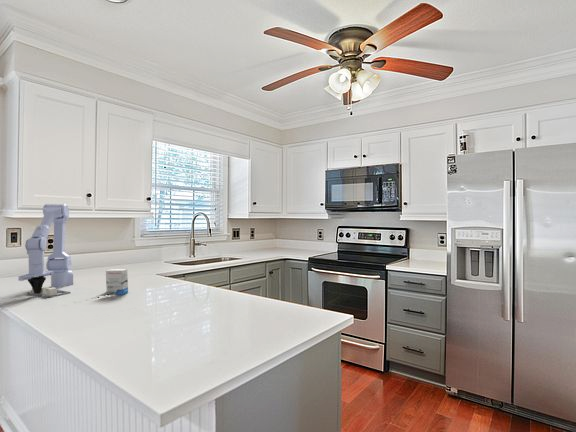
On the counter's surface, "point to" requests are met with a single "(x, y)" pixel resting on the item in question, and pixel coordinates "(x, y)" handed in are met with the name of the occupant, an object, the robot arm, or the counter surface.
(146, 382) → the counter surface
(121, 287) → the ink box
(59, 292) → the grey divided tray
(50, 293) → the off-white rectangular block
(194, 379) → the counter surface
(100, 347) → the counter surface
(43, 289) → the cream rectangular block
